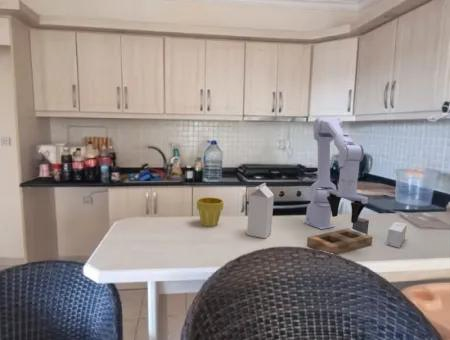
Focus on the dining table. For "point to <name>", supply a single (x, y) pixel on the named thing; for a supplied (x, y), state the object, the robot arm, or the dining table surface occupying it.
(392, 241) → the skincare box
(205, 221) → the plant pot
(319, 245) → the brown flat rectangular frame
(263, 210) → the milk carton
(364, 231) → the plug
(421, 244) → the dining table surface
